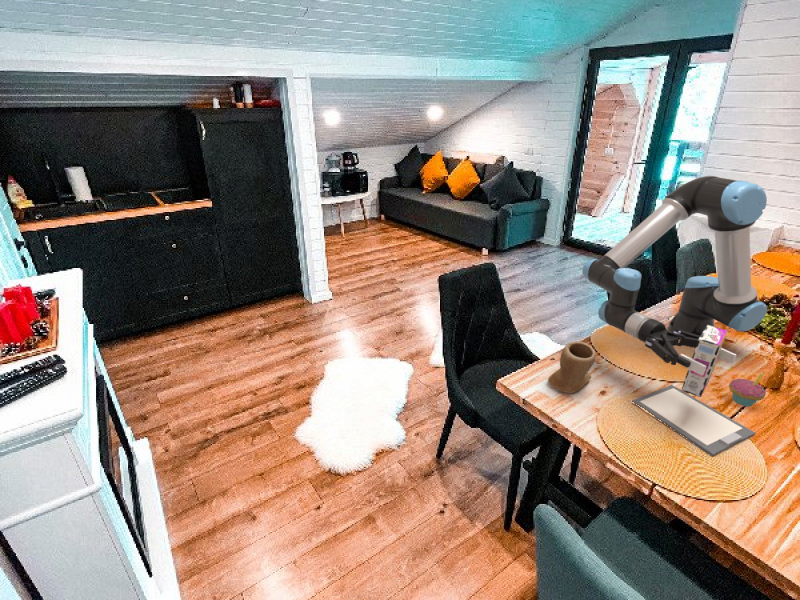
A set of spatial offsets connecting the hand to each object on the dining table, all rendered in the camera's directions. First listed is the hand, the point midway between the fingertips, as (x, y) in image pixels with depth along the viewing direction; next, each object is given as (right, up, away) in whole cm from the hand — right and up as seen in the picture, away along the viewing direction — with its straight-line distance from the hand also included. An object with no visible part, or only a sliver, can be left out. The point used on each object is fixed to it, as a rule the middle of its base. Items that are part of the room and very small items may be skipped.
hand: (719, 365), depth 110 cm
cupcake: (+19, -14, +17) cm, 29 cm away
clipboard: (-1, -17, +11) cm, 20 cm away
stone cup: (-28, -10, +27) cm, 40 cm away
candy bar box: (-1, -7, +7) cm, 10 cm away
